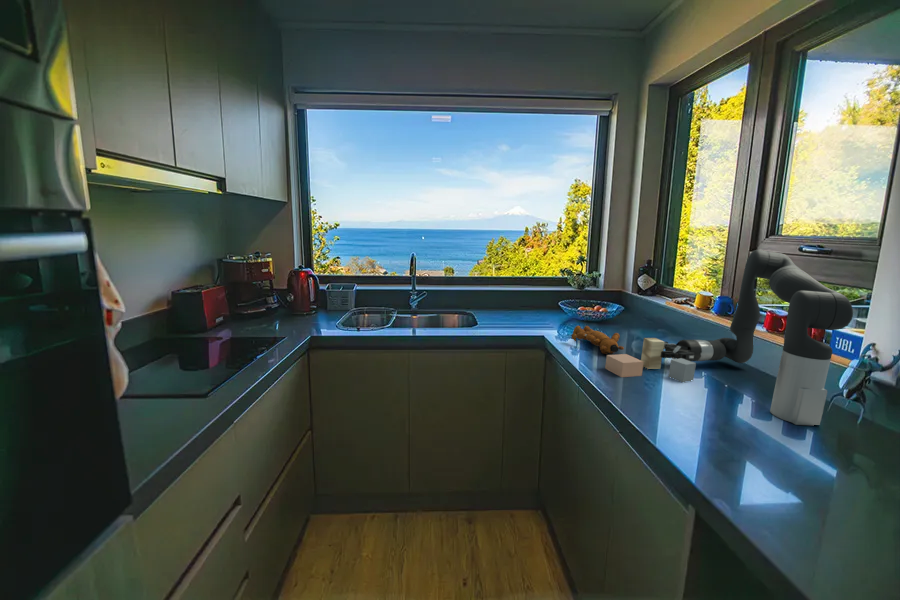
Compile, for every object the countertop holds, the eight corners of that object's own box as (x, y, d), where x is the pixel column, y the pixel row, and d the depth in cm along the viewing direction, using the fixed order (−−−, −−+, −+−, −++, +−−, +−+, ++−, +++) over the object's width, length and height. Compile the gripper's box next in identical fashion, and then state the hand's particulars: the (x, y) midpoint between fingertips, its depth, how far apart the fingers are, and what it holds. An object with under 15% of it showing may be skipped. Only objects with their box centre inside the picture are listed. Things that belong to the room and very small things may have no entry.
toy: (558, 338, 175) (589, 358, 145) (560, 323, 174) (590, 339, 144) (601, 339, 177) (640, 358, 147) (603, 324, 176) (642, 340, 146)
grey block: (693, 380, 127) (696, 363, 126) (682, 382, 125) (685, 364, 124) (678, 375, 131) (681, 358, 130) (668, 377, 129) (671, 359, 128)
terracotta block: (641, 376, 129) (643, 361, 128) (621, 377, 127) (623, 363, 126) (624, 367, 137) (626, 354, 136) (605, 369, 134) (606, 355, 134)
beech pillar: (660, 369, 136) (664, 341, 134) (648, 369, 135) (652, 341, 133) (651, 365, 140) (655, 337, 139) (640, 365, 140) (643, 337, 138)
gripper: (681, 334, 146) (641, 334, 143) (712, 346, 132) (669, 346, 129) (678, 354, 147) (638, 354, 144) (708, 367, 133) (665, 368, 131)
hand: (653, 350), depth 137 cm, fingers open, 8 cm apart
